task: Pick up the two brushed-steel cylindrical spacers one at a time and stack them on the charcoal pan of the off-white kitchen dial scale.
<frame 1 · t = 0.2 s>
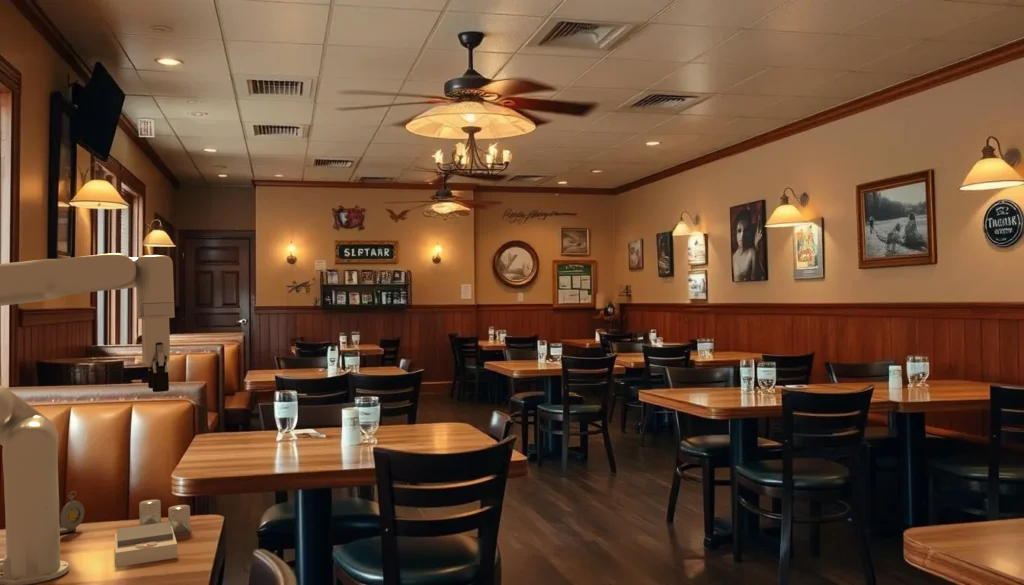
hand: (158, 389, 177), 36 cm above the table, tool pointing down, fingers open, 9 cm apart
spacer b: (150, 526, 201), on the table
pocket watch: (64, 532, 198), on the table
spacer a: (179, 532, 195), on the table
scale: (145, 552, 180), on the table
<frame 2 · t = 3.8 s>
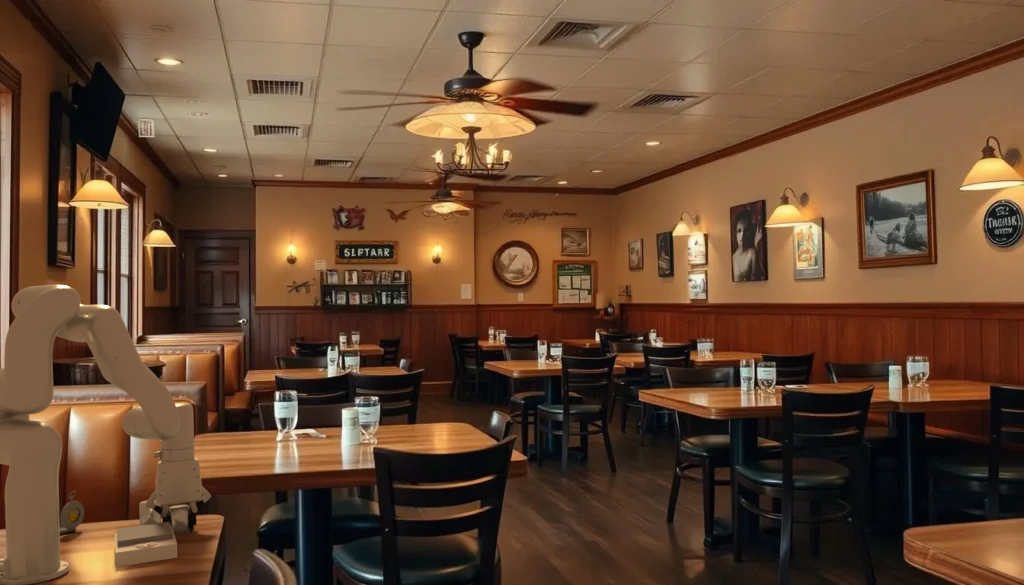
hand: (179, 529, 195), 1 cm above the table, tool pointing down, fingers closed on spacer a, 4 cm apart
spacer a: (179, 532, 195), on the table, touching gripper
everything else where it was.
when the fingers open (6 cm above the table, at t = 9.7 s): spacer a stays where it is, resting on scale.
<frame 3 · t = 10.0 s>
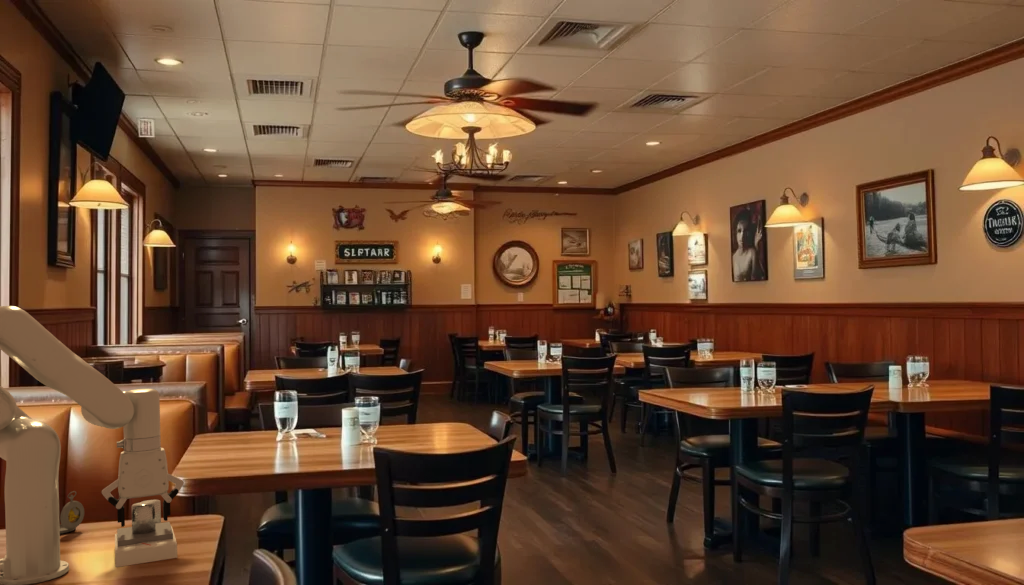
hand: (144, 522, 182), 6 cm above the table, tool pointing down, fingers open, 8 cm apart
spacer a: (143, 531, 181), point 4 cm above the table, touching scale
everything else where it was.
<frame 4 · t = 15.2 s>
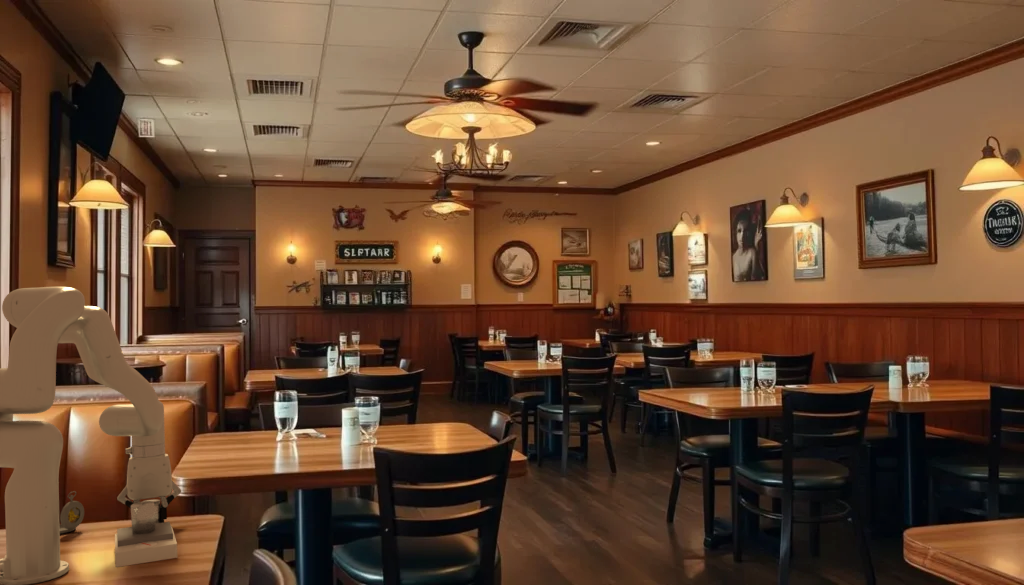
hand: (150, 523, 201), 1 cm above the table, tool pointing down, fingers closed on spacer b, 4 cm apart
spacer b: (150, 526, 201), on the table, touching gripper
everything else where it was.
when the fingers open (11 cm above the table, at t = 22.1 s): spacer b stays where it is, resting on spacer a.
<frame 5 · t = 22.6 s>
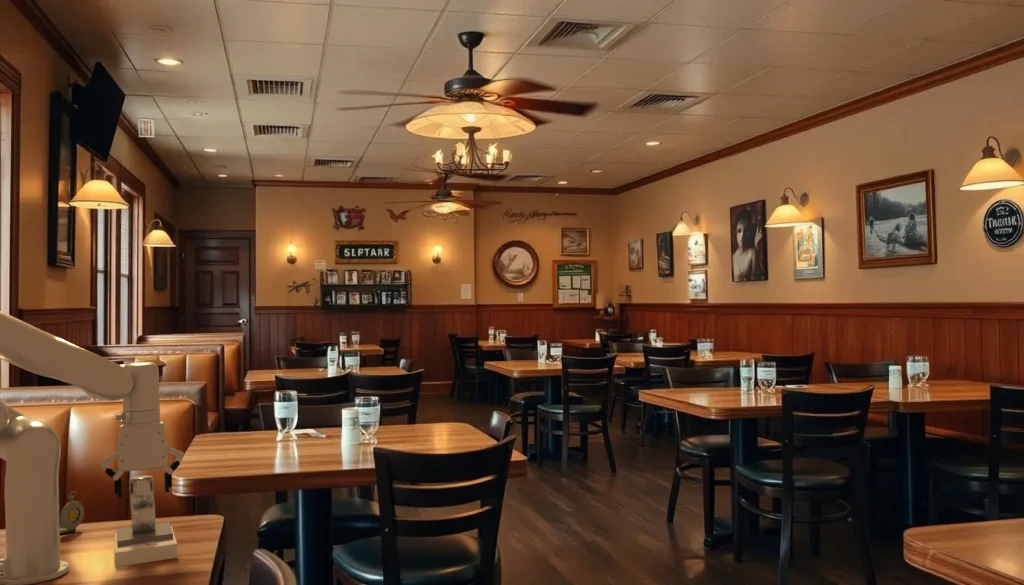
hand: (143, 494, 182), 12 cm above the table, tool pointing down, fingers open, 9 cm apart
spacer b: (142, 504, 181), point 10 cm above the table, touching spacer a
spacer a: (143, 531, 181), point 4 cm above the table, touching scale, spacer b
everything else where it was.
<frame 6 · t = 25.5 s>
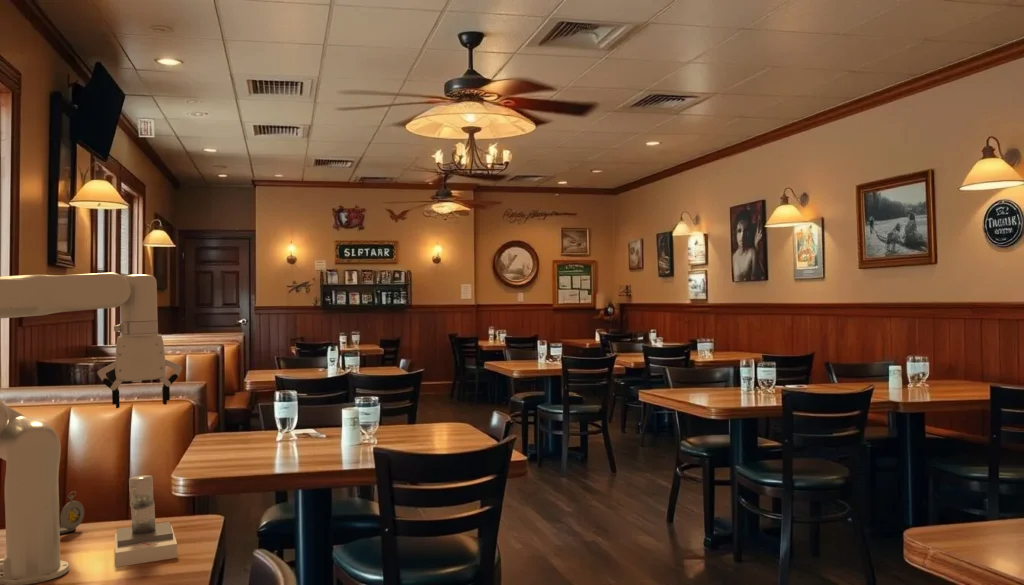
hand: (141, 405, 182), 32 cm above the table, tool pointing down, fingers open, 9 cm apart
nothing on the table moved.
at the end: spacer a 0.2 cm from the target spot on the scale, point 4.2 cm above the scale's base; spacer b 0.4 cm off-centre on the spacer a, point 6.0 cm above the spacer a's base; spacer b tilted 1° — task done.
